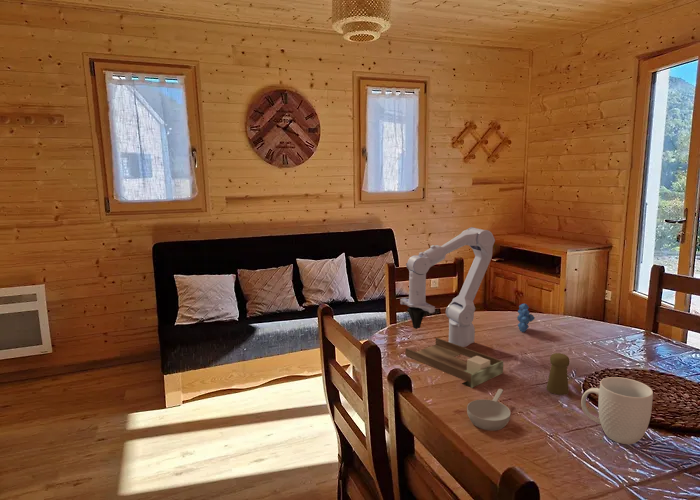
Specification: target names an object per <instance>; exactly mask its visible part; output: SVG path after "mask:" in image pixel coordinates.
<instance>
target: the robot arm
mask: <svg viewBox="0 0 700 500" xmlns="http://www.w3.org/2000/svg"><path fill="white" fill-rule="evenodd" d="M495 242H496V239H495V236H494V235H493V232H492V231H490V230H488V229H481V228H477V227H473V226H471V227H469V228H467V229H465V230H462V231H461V233H460V234H458V235H457V236H454V237H453V238H452V239H450V240H449V241H447V242H445V243H443V244H442V245H438V244H437V245H436V244H435V245H434V244H432V245H430V246H429V247H430V248H428V249H426V250H425V251H420V252H418V255H417V254H416V255H412V256H410V257H409V258H408V259H407V262H406V263H405V266H406V269H408V272H409V273H408V274H409V275H408V277H409V278H408V298H405V297H403V298H400V299H399V301H400V302H399V303H400V305H405V306H407V307H408V308H407V309H406V311H407V314H408V315H409V317H410V319H411V320H410V321H411V323H412V327H413V329H415V330H417V329H420V328H421V325H422V321H423V319H424V316H425V314H427V312H428V313H429V314H433V313H435V312H436V306H434V305H432V304H430V303H428V302H427V301H426V295H427V294H426V291H427V290H426V289H427V288H426V287H427V282H426V281H427V273H428V272H429V270H430V268H432V267H433V266H435V265H437V264H439V263H441V262H442V261H443V260H445V259H446V256H447V255H448V254H450V253H452V252H454V251H455V250H458V249H460V248H462V247H464V246H469V248H470V249H471V250H472V251H473V254H474V258H473V261H472V264H471V266H470V268H469V269H468V273H467V274H466V277H465V279H464V282H463V284H462V287H461V289H460V291H459V294H458V295H457V296H456V297H453V298H452V301H451V302H450V303H449V304H448V306H446V309H445V315H446V317H447V318H448V342H450V343H453V344H456V345H459V346H461V347H464V348H466V347H468V346H469V345H471V344H473V343H475V338H476V337H475V336H476V335H475V334H476V329H475V328H476V327H475V326H474V324H473V322H474V319H475V311H476V307H475V304H474V300H475V298H476V296H477V293H478V291H479V288H480V286H481V284H482V281H483V279H484V277H485V274H486V272H487V270H488V266H489V265H490V263H491V260H492V257H493V248H494V244H495Z"/></svg>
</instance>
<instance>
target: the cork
mask: <svg viewBox="0 0 700 500" xmlns="http://www.w3.org/2000/svg"><path fill="white" fill-rule="evenodd" d="M549 362H550V364H551V365H550V366H551V367H550V371H549V374H548V380H547V383H546V384H547V385H546V391H548V392H549V393H551V394H553V395H558V396H564V395H565V396H566V395H568V394H569V393H570V392H569V391H570V389H569V378H568V367H569V365H570V357H569V356H568V355H567V354H564V353H561V352H555V353H552V354H551V355H550V357H549Z"/></svg>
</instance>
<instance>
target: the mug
mask: <svg viewBox="0 0 700 500" xmlns="http://www.w3.org/2000/svg"><path fill="white" fill-rule="evenodd" d="M590 394H596V395H598V398H597V399H598V402H597V405H598V406H597V407H598V417H597V416H595V415H594V414H592V413H591V412H590V411H589V410H588V407H587V404H586V403H587V401H586V400H587V397H588V396H589V395H590ZM653 398H654V392H653V389H652V388H651V387H650V386H649V385H647V384H645V383H643V382H641V381H638V380H636V379H635V380H634V379H632V378H626V377H623V376H622V377H620V376H619V377H618V376H611V377H604V378H602V379H601V380H600V381H599V388H598V387H590V388H588V389H587V390H585V392H584V393H582V396H581V401H580V402H581V403H580V405H581V409H582V412H583V413H584V415H585V416H586V417H587V418H588V419H589V420H591V421H593V422H595V423H597V424H599V425H601V429H602V430H603V432H604V434H605V435H606V437H607V438H608V439H610V440H611V441H613V442H615V443H618V444H622V445H634V444H636V443H637V442H639V441H640V440H641V439H642V438H643V437H644V435H645V434H646V431H647V429H648V427H649V425H650V420H651V415H652V409H653V407H652V406H653V400H654V399H653Z"/></svg>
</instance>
